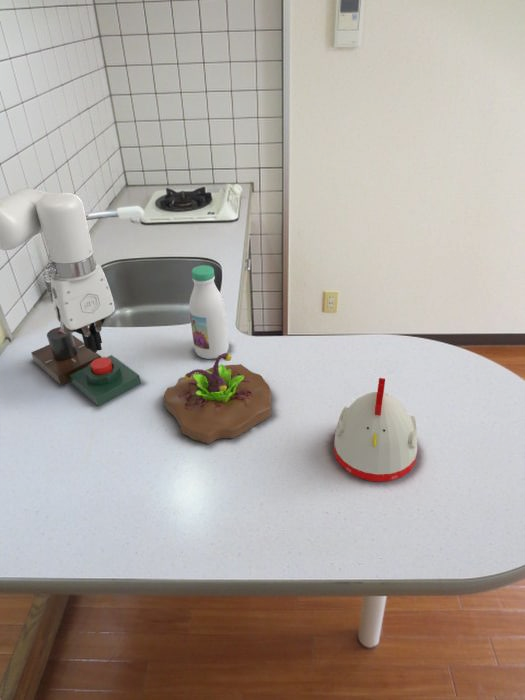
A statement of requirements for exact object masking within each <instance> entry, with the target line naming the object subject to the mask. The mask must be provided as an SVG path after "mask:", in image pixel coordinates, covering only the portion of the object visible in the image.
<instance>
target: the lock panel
mask: <svg viewBox="0 0 525 700" xmlns="http://www.w3.org/2000/svg"><path fill="white" fill-rule="evenodd" d="M72 335H73V334H72ZM73 339H74V342H75V346H76V349H77V354H76V355H75V356H74V357H72V358H70V359H67V360H56V359H55V358H54V357H53V353H52V350H51V347H50V344H49V343H48V344H47V345H45V346H43V347H40V348H39V349H36V350H33V351H31V352H30V353H31V356H32V359H33V362H34V363H35V364H36V365H37V366H39V367H40V368H41V369H42V370H43V371H44V372H45V373H46V374H47V375H48V376H50V377H51V378H52V379H53V380H54V381H55V382H56V383H57V384H59V385H60V386H64V385H65V384H67V383H69V382H72V381H71V378H70V375H71V374H73V373H75V372H77V371H79V370H81V369H83V368H85V367H87V366H88V365H89V364H90V363H92V362H93V361H94V360H95V359H97V358H101V357H102V356H101V355H100V354H99V353H98V352H95V353H94V352H93V351H91V350H90V349H87V348H86V347H85V345H84V341H82V340H81V339H79V338H78V337H76V336H75V335H73Z"/></svg>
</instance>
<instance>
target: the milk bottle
mask: <svg viewBox="0 0 525 700" xmlns="http://www.w3.org/2000/svg"><path fill="white" fill-rule="evenodd" d="M214 269H215V268H214V267H213V266H211V265H207V264H206V265H205V264H202V265H197V266H195V267H193V268H192V269H191V278H192V279H191V280H192V282H193V288H192V291H191V295H190V297H189V303H188V304H189V305H188V308H189V318H190V325H191V326H190V327H191V333H192V340H193V348H194V352H195V354H196V355H197V356H198V357H200V358H202V359H208V360H212V359H217V358H218V357H219V355H221V354H224V353H228V351H229V349H230V343H229V342H230V341H229V331H228V322H227V321H228V320H227V313H226V305H225V301H224V298H223V296H222V293H221V292H220V290H219V289H218V287H217V286H216V283H215V279H216V278H215V277H216V276H215V270H214Z"/></svg>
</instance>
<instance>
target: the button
mask: <svg viewBox="0 0 525 700" xmlns="http://www.w3.org/2000/svg"><path fill="white" fill-rule="evenodd" d="M106 357H107V356H106ZM106 357H105V356H103V357H102V356H101V358H97V359H95V360H94V361H93V362H92V363H91V367H92V371H93V373H94V374H95V375H102V374H106V373H108V372H110V371H111V370H112V369H113V367H112V363H111V360H110V359H109V358H106Z"/></svg>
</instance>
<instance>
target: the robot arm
mask: <svg viewBox="0 0 525 700" xmlns="http://www.w3.org/2000/svg"><path fill="white" fill-rule="evenodd" d="M88 225H89V224H88V221H87V216H86V211H85V208H84V203H83V201H82V200H81V198H80V197H79V195H76V194H74V193H70V192H57V193H52V192H47V191H43V190H40V189H36V188H27V187H26V188H20V189H17V190H16V191H14V192H13V193H10V194H8V195H6V196H4V197H2V198H1V199H0V251H11V250H14V249H15V250H16V249H17V248H18V247H20V246H21V245H24V244H25V243H26V242H27V241H29V240H30V239H31V238H33V237H34V236H37V235H39V234H40V233H42V235H43V239H44V243H45V246H46V249H47V250H46V251H47V253H48V257H49V260H48V263H49V264H48V265H47V266H45V267H44V269H43V270H44V273H45V274H46V275H47V276H48V275H50V287H51V288H50V289H51V297H52V302H53V307H54V311H55V316H56V319H57V321H58V322H59V323H60V324H59V327H60V330H61V332H63V333H64V334H68V333H72V334H73V333H77V334H79V335H81V337H82V340H83V341H82V342H83V343H84V345H85V347H86V348H87V349H90V350H91V351H93V352H94V353H95V352H96V353H98V351H101V350H103V348H102V344H103V341H102V337H101V332H102V326H103V324H104V323H105V321H106V320H107V319H109V318H110V317H111V316H112V315H114V312H115V310H116V307H115V306H116V305H115V302H114V298H113V294H112V290H111V288H110V285H109V282H108V280H107V277H106V274H105V272H104V270H103V268H102V265H100V264H98V263H96V258H95V252H94V249H93V245H92V240H91V235H90V230H89V226H88Z"/></svg>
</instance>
